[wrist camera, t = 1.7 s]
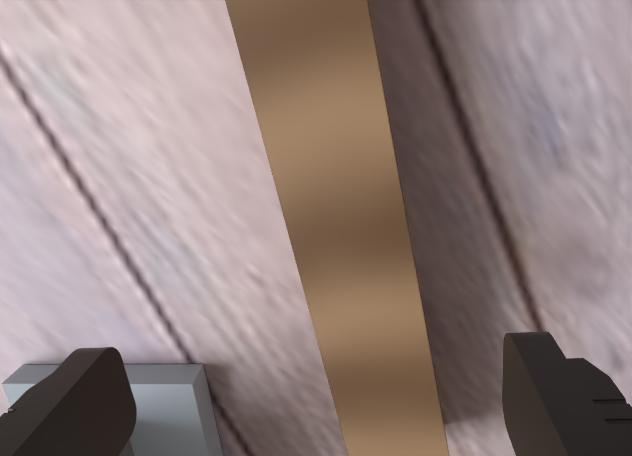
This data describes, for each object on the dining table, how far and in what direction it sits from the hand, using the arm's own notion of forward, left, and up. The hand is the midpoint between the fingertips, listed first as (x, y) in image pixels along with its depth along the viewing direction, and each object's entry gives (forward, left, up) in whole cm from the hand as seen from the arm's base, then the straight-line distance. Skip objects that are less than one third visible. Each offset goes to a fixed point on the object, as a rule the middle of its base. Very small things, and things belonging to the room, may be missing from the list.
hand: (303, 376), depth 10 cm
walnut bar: (-1, 0, -11) cm, 11 cm away
